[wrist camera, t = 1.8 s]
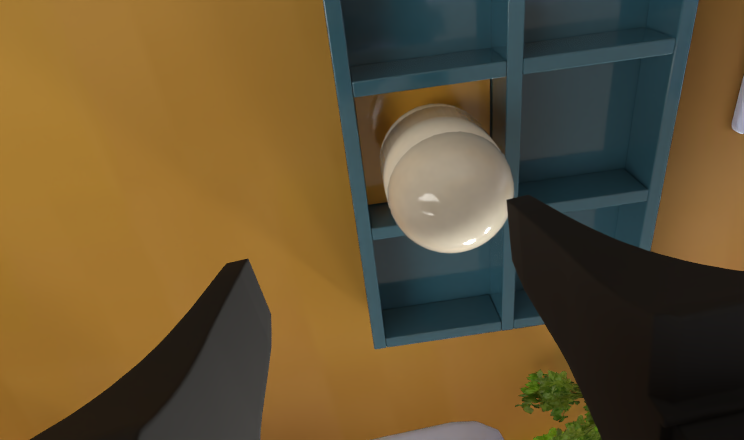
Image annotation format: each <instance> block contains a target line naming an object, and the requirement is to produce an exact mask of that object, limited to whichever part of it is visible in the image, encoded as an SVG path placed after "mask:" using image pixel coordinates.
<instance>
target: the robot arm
mask: <svg viewBox="0 0 744 440" xmlns="http://www.w3.org/2000/svg"><path fill="white" fill-rule="evenodd" d="M732 128H733V130H735V131H736V132H738V133H740V134H744V76H743V80H742V84H741V88H740V92H739V96H738V100H737V104H736V108H735V112H734V116H733V120H732ZM506 201H507V212H508V223H509V234H510V245H511V256H512V262H513V264H514V267H515V269H516V271H517V274H518V276H519V279H520V281H521V283H522V286H523V288H524V290H525V292H526V293H527V295H528V297H529V299H530V300H531V302H532V304H533V305H534V307H535V309H536V310H537V312H538V314H539V315H540V317H541V319H542V320H543V322H544V324H545V325H546V327H547V329H548V330H549V332H550V333H551V335H552V337H553V338H554V340H555V342H556V343H557V345H558V347H559V348H560V350H561V352H562V354H563V355H564V357H565V359H566V361H567V363H568V365H569V367H570V369H571V371H572V373H573V376H574V378H575V380H576V382H577V384H578V386H579V389H580V391H581V393H582V395H583V397H584V400H585V402H586V404H587V406H588V409H589V411H590V413H591V416H592V418H593V420H594V422H595V425H596V427H597V429H598V432H599V434H600V437H601V439H602V440H744V271H737V270H730V269H724V268H719V267H713V266H708V265H702V264H698V263H693V262H688V261H684V260H680V259H676V258H672V257H669V256H665V255H661V254H658V253H654V252H651V251H648V250H645V249H642V248H639V247H636V246H633V245H630V244H628V243H625V242H622V241H620V240H617V239H615V238H612V237H610V236H608V235H605V234H603V233H601V232H599V231H596V230H594V229H592V228H590V227H588V226H586V225H584V224H582V223H580V222H578V221H576V220H574V219H572V218H570V217H568V216H567V215H565V214H563V213H561V212H559V211H557V210H556V209H554V208H552V207H550V206H549V205H547V204H545V203H543V202H541V201H540V200H538V199H536V198H534V197H532V196H530V195H525V196H520V197H516V198H512V199H507V200H506ZM270 353H271V313H270V311H269V308H268V306H267V303H266V301H265V298H264V296H263V293H262V291H261V289H260V286H259V284H258V281H257V279H256V276H255V274H254V271H253V269H252V267H251V264H250V262H249V259H244V260H240V261H236V262H231V263H227V264H226V265H225V266H224V267H223V268H222V270H221V271H220V272H219V273H218V275H217V276H216V277H215V279H214V280H213V281H212V282H211V284H210V285H209V286H208V288H207V289H206V290H205V291H204V293H203V294H202V295H201V296H200V298H199V299H198V300H197V301H196V303H195V304H194V305H193V306H192V308H191V309H190V310H189V311H188V313H187V314H186V315H185V316H184V317H183V318H182V319H181V320H180V322H179V323H178V324H177V325H176V326H175V327H174V328H173V330H172V331H171V332H170V333H169V334H168V335H167V336H166V337H165V338H164V339H163V340H162V342H161V343H160V344H159V345H158V346H157V347H156V348H155V349H153V350H152V351H151V352H150V353H149V354H148V355H147V356H146V357H145V358H144V359H143V360H142V361H141V362H140V363H138V364H137V365H136V366H135V367H134V368H133V369H131V370H130V371H129V372H128V373H126V374H125V375H124V376H123V377H122V378H120V379H119V380H118V381H117V382H116V383H114V384H113V385H112V386H111V387H109V388H108V389H107V390H105V391H104V392H103V393H101V394H100V395H99V396H97V397H96V398H95V399H93V400H92V401H90V402H89V403H87V404H86V405H85V406H83V407H82V408H80V409H79V410H77V411H76V412H74V413H73V414H71V415H70V416H68V417H67V418H65V419H63V420H62V421H60V422H58V423H57V424H55V425H53V426H52V427H50V428H48V429H47V430H45V431H43V432H42V433H40V434H38V435H37V436H35V437H34V438H32V439H30V440H260V432H261V421H262V412H263V405H264V397H265V390H266V383H267V376H268V369H269V361H270ZM371 440H504V439H503V437H502V435H501V434H500V432H499V430H497V429H494V428H492V427H489V426H487V425H484V424H482V423H479V422H476V421H468V422H450V423H446V424H441V425H436V426H432V427H427V428H422V429H418V430H413V431H408V432H404V433H399V434H395V435H390V436H385V437H381V438H376V439H371Z"/></svg>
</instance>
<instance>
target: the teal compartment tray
mask: <svg viewBox="0 0 744 440" xmlns="http://www.w3.org/2000/svg"><path fill="white" fill-rule="evenodd" d="M698 2H699V0H323V5H324V12H325V18H326V25H327V32H328V39H329V45H330V52H331V59H332V66H333V72H334V79H335V86H336V93H337V100H338V106H339V113H340V120H341V127H342V133H343V140H344V147H345V154H346V160H347V167H348V174H349V181H350V187H351V194H352V201H353V208H354V214H355V221H356V228H357V235H358V241H359V248H360V255H361V262H362V268H363V275H364V282H365V289H366V295H367V302H368V309H369V316H370V323H371V329H372V336H373V343H374V348H375V349H381V348H386V346H387V347H393V346H400V345H407V344H414V343H421V342H427V341H434V340H441V339H448V338H455V337H462V336H468V335H475V334H482V333H489V332H496V331H501V330H502V331H504V330H511V329H513V328H514V329H516V328H523V327H530V326H537V325H543V324H544V322H543V320H542V319H541V317H540V315H539V314H538V312H537V310H536V309H535V307H534V305H533V304H532V302H531V300H530V299H529V297H528V295H527V293H526V292H525V290H524V288H523V286H522V283H521V281H520V279H519V276H518V274H517V271H516V269H515V267H514V264H513V262H512V256H511V245H510V234H509V223H508V218H507V220H506V222H505V224H504V225H503V227H502V228H501V229H500V231H499V232H498V233H497V234H496V235H495V236H494V237H493V238H492V239H490V240H489V241H488V242H486V243H485V244H483V245H481V246H480V247H477V248H475V249H472V250H470V251H466V252H462V253H453V254H447V253H438V252H435V251H431V250H428V249H425V248H423V247H421V246H419V245H417V244H415V243H414V242H413V241H412V240H411V239H409V238H408V237H407V236H406V235H405V234H404V233H403V232H402V231H401V230H400V228H399V227H398V226H397V224H396V222H395V220H394V218H393V216H392V214H391V212H390V209H389V205H388V201H387V197H386V193H385V189H384V185H383V180H382V176H381V171H380V150H381V145H382V142H383V140H384V137H385V135H386V133H387V132H388V130H389V129H390V127H391V126H392V124H393V123H394V122H395V121H396V120H397V119H398V118H399V117H400V116H401V115H403V114H404V113H406V112H407V111H409V110H411V109H413V108H415V107H417V106H421V105H425V104H431V103H442V104H448V105H453V106H456V107H459V108H461V109H463V110H465V111H466V112H468V113H469V114H471V115H472V116H473V117H474V118H475V119H476V120H477V121H479V123H480V124H481V125H482V126H483V128H484V129H485V130H486V132H487V133H488V134H489V136H490V137H491V138H492V140H493V141H494V142H495V144H496V145H497V146H498V148H499V149H500V150H501V152H502V153H503V154H504V156H505V158H506V160H507V162H508V164H509V166H510V168H511V172H512V175H513V180H514V198H516V197H520V196H525V195H530V196H532V197H534V198H536V199H538V200H540V201H541V202H543V203H545V204H547V205H549V206H550V207H552V208H554V209H556V210H557V211H559V212H561V213H563V214H565V215H567V216H568V217H570V218H572V219H574V220H576V221H578V222H580V223H582V224H584V225H586V226H588V227H590V228H592V229H594V230H596V231H599V232H601V233H603V234H605V235H608V236H610V237H612V238H615V239H617V240H620V241H622V242H625V243H628V244H630V245H633V246H636V247H639V248H642V249H645V250H648V251H651V246H652V240H653V235H654V230H655V225H656V220H657V214H658V209H659V204H660V199H661V194H662V189H663V183H664V178H665V173H666V168H667V163H668V157H669V152H670V147H671V142H672V137H673V131H674V126H675V121H676V116H677V111H678V106H679V100H680V95H681V90H682V85H683V80H684V74H685V69H686V64H687V59H688V54H689V49H690V43H691V38H692V33H693V28H694V23H695V17H696V12H697V7H698Z"/></svg>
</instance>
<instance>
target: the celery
mask: <svg viewBox="0 0 744 440" xmlns="http://www.w3.org/2000/svg"><path fill="white" fill-rule="evenodd" d="M548 372H549V373H548V374H543V372H542V371H541V370H539V371H538V372H536V373H537V374H536V373H533V374H529V376H531V377H527V378H528V380H531V381H532V382H528V383H527V384H525V385H526V386H529V387H528V388H526V387H524V388H521V391H522V392H523V393H524V394H522V395H519V396H522V397H524V396H527V397H524V398H522V401H525V402H524V403H522V405H516V406H523V407H522V408H524V407H525V408H524V410H525V412H527V413H530V414H532V411H534V410H533V409H532V408H530V405H531V404H532V403H538V402H540V405H539V404H537V405H533V404H532V405H533V406H534V407H535V408H540V407H541V408H542V411H543V412H545V410H546V411H549V410H551V409H553V410H552V412H551V415H550V416H555V417H554V418H553V420H556V421H558V420H559V419H561V418H562V417H563V418H562V419H561V420H560V421H559V422H562V421H563V420H564V418H567V417H568V416H564V415H563V416H561V413H562V412H563V410H565V412H566V411H568V409H570V407H571V406H569V405H568V404H574V403H575V404H577V405H578V404H579V403H580V402H579V401H574V399H575V400H576V399H578V398H584V397H583V395H582V393H581V391H580V389H577V388H579V386H578V384H572V383H574V382H570V381H571V380H570V379H567V377H566V375H567V373H566V372H564V371H562V372H561V373H560V374H558V373H557V372H556V373H555V372H553V371H550V370H549V371H548ZM562 373H563V374H562ZM542 375H543V376H544V377H545V378H542ZM548 375H549V376H548ZM547 376H548V377H547ZM548 378H549V379H548ZM562 378H563V379H562ZM564 379H565V380H564ZM537 382H539V383H540V385H539V384H538V383H537ZM573 385H574V386H573ZM570 390H571V392H573V393H571V392H570ZM577 390H578V391H577ZM574 391H575V392H577V393H574ZM525 394H526V395H525ZM538 395H539V396H538ZM536 398H539V400H537V399H536ZM531 402H532V403H531ZM584 402H585V401H584ZM542 403H543V404H542ZM585 403H586V402H585ZM528 404H529V405H528ZM516 406H515V407H516ZM538 406H540V407H538ZM583 408H586V409H585V410H586V411H589V409H588V406H587V405H586V406H584V407H583ZM585 415H587V416H586V417H587V418H585V419H584V420H586V423H585V422H584V420H583V416H582V415H580V416H579V417H578V419H577V421H575V422H574V421H573V423H572V422H571V423H568V424H567V423H566V424H565V425H566V427H567V430H565V432H562V430H561V429H559V428H557V431H556V428H552V429H550V431H549V433H548V435H547V434H546V435H543V436H537V437H536V438H535V437H534V438H533V440H602V439H601V437H600V434H599V432H598V429H597V427H596V425H595V422H594V420H593V418H592V416H591V413H590V411H589V412H587V414H585ZM579 419H580V420H579ZM581 424H583V425H581ZM551 431H552V432H551ZM554 436H555V437H554Z"/></svg>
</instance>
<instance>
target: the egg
mask: <svg viewBox="0 0 744 440" xmlns="http://www.w3.org/2000/svg"><path fill="white" fill-rule="evenodd" d="M380 171H381V176H382V180H383V185H384V189H385V193H386V197H387V201H388V205H389V209H390V212H391V214H392V216H393V218H394V220H395V222H396V224H397V226H398V227H399V228H400V230H401V231H402V232H403V233H404V234H405V235H406V236H407V237H408V238H409V239H411V240H412V241H413V242H414V243H415V244H417V245H419V246H421V247H423V248H425V249H428V250H431V251H435V252H438V253H447V254H453V253H462V252H466V251H470V250H472V249H475V248H477V247H480V246H481V245H483V244H485V243H486V242H488V241H489V240H490V239H492V238H493V237H494V236H495V235H496V234H497V233H498V232H499V231H500V229H501V228H502V227H503V225H504V224H505V222H506V220H507V218H508V212H507V201H506V200H507V199H512V198H514V180H513V175H512V172H511V168H510V166H509V164H508V162H507V160H506V158H505V156H504V154H503V153H502V152H501V150H500V149H499V148H498V146H497V145H496V144H495V142H494V141H493V140H492V138H491V137H490V136H489V134H488V133H487V132H486V130H485V129H484V128H483V126H482V125H481V124H480V123H479V121H477V120H476V119H475V118H474V117H473V116H472V115H471V114H469V113H468V112H466V111H465V110H463V109H461V108H459V107H456V106H453V105H448V104H442V103H431V104H425V105H421V106H417V107H415V108H413V109H411V110H409V111H407V112H406V113H404V114H403V115H401V116H400V117H399V118H398V119H397V120H396V121H395V122H394V123H393V124H392V126H391V127H390V129H389V130H388V132H387V133H386V135H385V137H384V140H383V142H382V145H381V150H380Z"/></svg>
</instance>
